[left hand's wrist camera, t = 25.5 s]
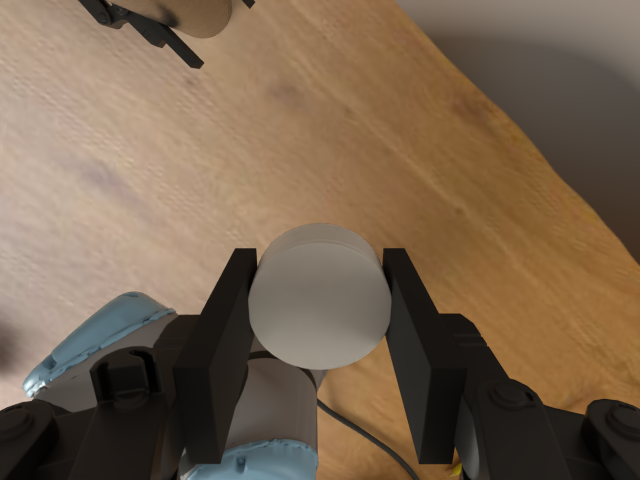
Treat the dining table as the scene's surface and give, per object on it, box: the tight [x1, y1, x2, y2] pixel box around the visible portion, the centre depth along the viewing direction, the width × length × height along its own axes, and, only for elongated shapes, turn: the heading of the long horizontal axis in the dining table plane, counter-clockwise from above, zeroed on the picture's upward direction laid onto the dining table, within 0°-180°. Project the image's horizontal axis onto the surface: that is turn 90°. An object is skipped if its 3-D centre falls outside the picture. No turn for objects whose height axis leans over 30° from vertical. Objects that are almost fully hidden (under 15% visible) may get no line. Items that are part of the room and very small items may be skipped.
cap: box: [248, 223, 392, 370], centre depth 14 cm, size 5×5×2 cm
